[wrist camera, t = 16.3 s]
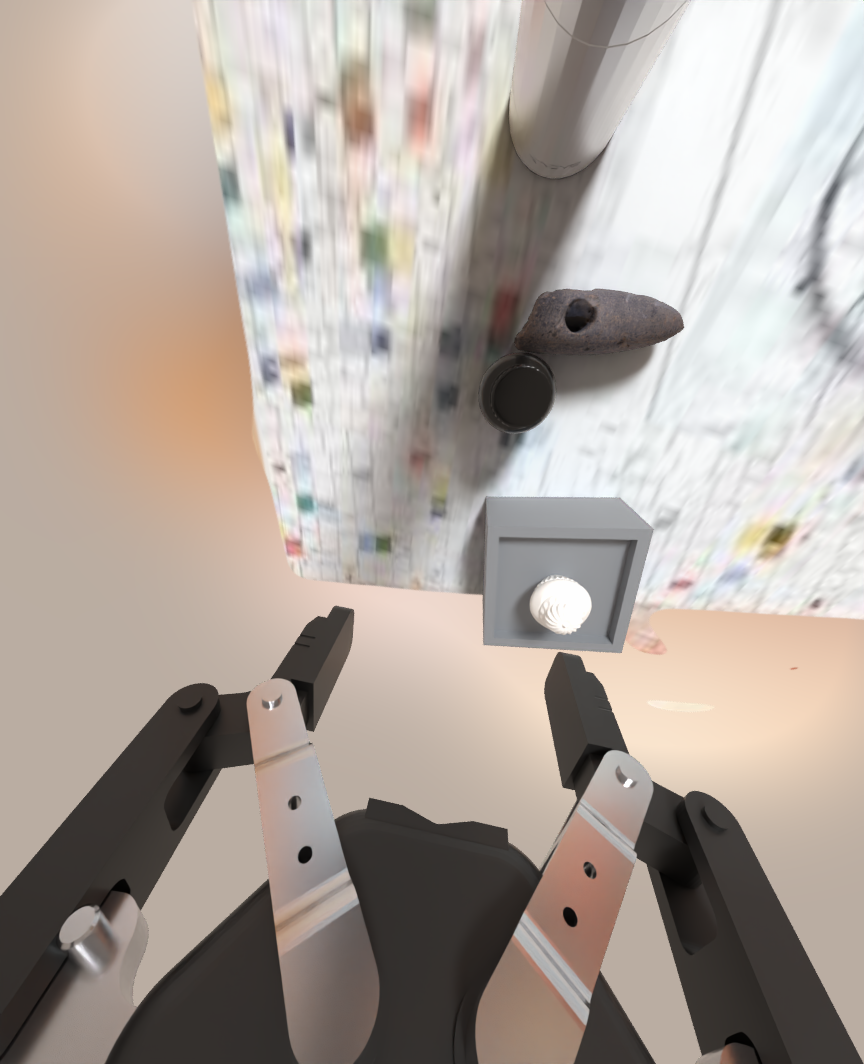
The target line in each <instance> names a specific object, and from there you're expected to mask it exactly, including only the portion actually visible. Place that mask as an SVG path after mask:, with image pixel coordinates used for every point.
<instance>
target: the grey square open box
mask: <svg viewBox="0 0 864 1064" xmlns="http://www.w3.org/2000/svg"><path fill="white" fill-rule="evenodd" d="M653 530H654V529H653V528H652V527H651V526H650V525H649V524H648V523H646V522H645V521H644V520H643V519H642V518H641V517H640V516H639V515H638V514H637V513H636V512H635V511H634V510H633V509H631V508H630V507H629V506H628V505H627V504H626V503H625V502H624V501H623V500H622V499H621V498H590V497H486V517H485V548H484V578H483V642H484V645H494V646H511V647H528V648H546V649H562V650H579V651H596V652H612V653H622V649H623V645H624V641H625V637H626V634H627V630H628V626H629V622H630V618H631V614H632V610H633V607H634V603H635V599H636V595H637V591H638V587H639V584H640V580H641V576H642V572H643V568H644V564H645V560H646V557H647V553H648V549H649V545H650V541H651V537H652V533H653ZM550 575H562V576H564V577H567V578H570V579H573V580H574V581H575V582H578V584H579V585H581V586H582V587H583V588H584V589H585V590H586V591H587V592H588V594H589V596H590V598H591V603H592V607H591V611H590V614H589V616H588V617H587V619H586V620H585V621H584V622H583V623H582V624H581V625H580V626H581V627H580V628H577V629H576V632H572V633H571V634H568V633H567V634H565V635H562V634H556V633H555V632H553V631H551V630H550V629H548V628H546V627H544V626H542V625H541V624H540V623H538V622H537V621H536V620H535V619H534V617H533V616H532V614H531V611H530V598H531V596H532V594H533V592H534V590H535V588H536V587H537V585H538V584H539V583H540V582H541V581H542V580H543V579H545V578H546V577H548V576H550Z"/></svg>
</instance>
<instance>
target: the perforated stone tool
mask: <svg viewBox="0 0 864 1064" xmlns="http://www.w3.org/2000/svg"><path fill="white" fill-rule="evenodd" d="M683 325H684V324H683V320H682V317H681V315H680V313H679V312H678V311H677V310H675V309H674V308H672V307H671V306H669V305H667V304H665V303H663V302H660V301H658V300H656V299H654V298H651V297H648V296H644V295H635V294H632V293H627V292H622V291H615V290H606V289H594V290H592V291H582V290H572V289H563V290H556V291H554V292H545V293H542V294H541V295H540V296H539V297H538V299H537V300H536V302H535V305H534V307H533V310H532V313H531V314H530V317H529V318H528V322H527V323H526V324H525V326H524V327H523V330H521V332H519V333H518V334H517V337H516V338H515V342H514V343H515V344H516V345H515V347H516V348H517V349H518V350H522V351H527V352H533V353H548V354H561V355H587V354H605V353H613V352H621V351H627V350H632V349H637V348H641V347H646V346H650V345H653V344H656V343H659V342H662V341H665V340H667V339H668V338H670V337H672V336H674V335H675V334H677V333H679V332H680V331H681V330H682V329H683V328H684V326H683Z"/></svg>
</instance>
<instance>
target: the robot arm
mask: <svg viewBox="0 0 864 1064" xmlns="http://www.w3.org/2000/svg"><path fill="white" fill-rule="evenodd" d="M690 1H691V0H522V3H521V12H520V20H519V29H518V37H517V45H516V54H515V62H514V69H513V77H512V86H511V94H510V103H509V125H510V133H511V138H512V141H513V144H514V148H515V150H516V152H517V154H518V155H519V157H520V159H521V161H522V162H523V163H524V164H525V165H526V166H527V167H528V168H529V169H530V170H531V171H533V172H534V173H536V174H537V175H540V176H543V177H546V178H564V177H568V176H571V175H573V174H575V173H577V172H579V171H581V170H583V169H584V168H585V167H587V166H588V165H589V164H590V163H592V162H593V161H594V160H595V159H596V158H597V157H598V155H599V154H600V153H601V152H602V151H603V150H604V148H605V147H606V145H607V143H608V142H609V140H610V139H611V137H612V135H613V134H614V132H615V130H616V128H617V127H618V125H619V123H620V122H621V120H622V118H623V116H624V115H625V113H626V112H627V110H628V108H629V106H630V105H631V103H632V101H633V100H634V98H635V96H636V94H637V93H638V91H639V89H640V88H641V86H642V84H643V82H644V81H645V79H646V77H647V75H648V74H649V72H650V70H651V69H652V67H653V65H654V63H655V62H656V60H657V58H658V56H659V55H660V53H661V51H662V50H663V48H664V46H665V44H666V43H667V41H668V39H669V37H670V36H671V34H672V32H673V31H674V29H675V27H676V25H677V24H678V22H679V20H680V18H681V17H682V15H683V13H684V12H685V10H686V8H687V6H688V5H689V3H690ZM353 624H354V610H353V609H349V608H344V607H339V606H334V607H333V609H332V610H331V612H330V614H329V616H328V617H327V618H325V617H320V616H318V617H316V618H315V619H314V620H312V621H311V622H309V623H308V624H307V625H306V627H305V628H304V630H303V631H302V633H301V634H300V636H299V637H298V639H297V640H296V642H295V644H294V645H293V646H292V648H291V649H290V651H289V652H288V654H287V655H286V657H285V658H284V660H283V661H282V663H281V665H280V666H279V667H278V669H277V671H276V672H275V674H274V675H273V676H272V678H271V679H270V680H267V681H264V682H262V683H260V684H259V685H257V686H256V687H255V688H254V689H253V690H252V691H249V692H246V693H236V694H225V695H218V691H217V689H216V688H215V687H214V686H212V685H210V684H205V683H200V684H199V683H198V684H193V685H189V686H187V687H184V688H182V689H180V690H178V691H177V692H175V693H174V694H173V695H171V697H169V698H168V699H167V701H166V702H165V703H164V704H163V705H162V707H161V708H160V709H159V710H158V711H157V712H156V714H155V715H154V716H153V717H152V718H151V719H150V721H149V722H148V723H147V724H146V725H145V727H144V728H143V729H142V730H141V731H140V733H139V734H138V735H137V736H136V737H135V738H134V740H133V741H132V742H131V743H130V744H129V745H128V747H127V748H126V749H125V750H124V751H123V752H122V754H121V755H120V756H119V757H118V758H117V760H116V761H115V762H114V763H113V764H112V766H111V767H110V768H109V769H108V770H107V771H106V772H105V774H104V775H103V776H102V777H101V778H100V780H99V781H98V782H97V783H96V784H95V785H94V787H93V788H92V789H91V790H90V791H89V793H88V794H87V795H86V796H85V797H84V798H83V800H82V801H81V802H80V803H79V804H78V806H77V807H76V808H75V809H74V810H73V811H72V813H71V814H70V815H69V816H68V817H67V818H66V820H65V821H64V822H63V823H62V824H61V826H60V827H59V828H58V829H57V830H56V831H55V833H54V834H53V835H52V836H51V837H50V838H49V840H48V841H47V842H46V843H45V844H44V846H43V847H42V848H41V849H40V850H39V852H38V853H37V854H36V855H35V856H34V857H33V859H32V860H31V861H30V862H29V863H28V864H27V866H26V867H25V868H24V869H23V870H22V872H21V873H20V874H19V875H18V876H17V878H16V879H15V880H14V881H13V882H12V883H11V885H10V886H9V887H8V888H7V889H6V890H5V892H4V893H3V894H2V895H1V896H0V1064H656V1063H655V1062H654V1060H653V1058H652V1057H651V1055H650V1053H649V1052H648V1050H647V1048H646V1047H645V1045H644V1044H643V1042H642V1040H641V1038H640V1037H639V1035H638V1033H637V1032H636V1030H635V1028H634V1026H633V1025H632V1023H631V1022H630V1020H629V1018H628V1017H627V1015H626V1013H625V1011H624V1010H623V1008H622V1006H621V1005H620V1003H619V1002H618V1000H617V998H616V997H615V995H614V994H613V992H612V990H611V988H610V986H609V985H608V983H607V981H606V980H605V978H604V976H603V975H602V973H601V971H600V968H601V965H602V962H603V959H604V956H605V953H606V950H607V947H608V944H609V941H610V938H611V935H612V932H613V929H614V926H615V923H616V919H617V916H618V913H619V910H620V907H621V904H622V901H623V898H624V895H625V892H626V889H627V886H628V883H629V880H630V877H631V874H632V871H633V868H634V864H635V861H636V858H638V859H639V860H641V861H643V862H645V863H646V864H647V867H648V871H649V874H650V878H651V881H652V884H653V888H654V891H655V895H656V898H657V902H658V905H659V908H660V912H661V915H662V919H663V922H664V925H665V929H666V932H667V936H668V940H669V943H670V947H671V950H672V953H673V957H674V960H675V964H676V967H677V971H678V974H679V978H680V981H681V985H682V988H683V991H684V995H685V998H686V1002H687V1005H688V1009H689V1012H690V1015H691V1019H692V1022H693V1026H694V1029H695V1033H696V1036H697V1039H698V1043H699V1046H700V1050H701V1053H702V1056H701V1057H700V1058H699V1059H698V1060H697V1061H696V1064H863V1062H862V1060H861V1058H860V1056H859V1054H858V1052H857V1050H856V1048H855V1046H854V1044H853V1042H852V1041H851V1039H850V1037H849V1035H848V1033H847V1031H846V1029H845V1027H844V1025H843V1023H842V1021H841V1019H840V1017H839V1015H838V1014H837V1012H836V1010H835V1008H834V1006H833V1004H832V1002H831V1000H830V998H829V996H828V994H827V992H826V990H825V988H824V987H823V985H822V983H821V981H820V979H819V977H818V975H817V973H816V971H815V969H814V967H813V965H812V963H811V962H810V960H809V958H808V956H807V954H806V952H805V950H804V948H803V946H802V944H801V942H800V940H799V938H798V936H797V934H796V933H795V931H794V929H793V927H792V925H791V923H790V921H789V919H788V917H787V915H786V913H785V912H784V909H783V907H782V906H781V904H780V902H779V900H778V898H777V896H776V894H775V892H774V890H773V888H772V886H771V884H770V882H769V881H768V879H767V877H766V875H765V873H764V871H763V869H762V867H761V866H760V863H759V861H758V859H757V857H756V856H755V853H754V852H753V850H752V848H751V846H750V844H749V842H748V840H747V838H746V836H745V834H744V832H743V831H742V829H741V827H740V825H739V823H738V821H737V820H736V819H735V817H734V816H733V815H732V814H731V812H730V811H729V810H728V809H727V808H726V807H725V806H724V805H722V804H721V803H720V802H719V801H718V800H716V799H715V798H713V797H712V796H710V795H707V794H705V793H702V792H699V791H692V792H689V793H688V794H687V795H686V796H685V797H684V798H683V797H682V796H679V795H678V794H676V793H674V792H672V791H670V790H668V789H666V788H664V787H662V786H660V785H658V784H657V783H655V782H653V781H652V780H651V778H650V776H649V774H648V773H647V771H646V769H645V768H644V767H643V766H642V765H641V764H640V763H639V762H638V761H637V760H636V759H635V758H633V757H632V756H630V755H629V752H628V750H627V747H626V745H625V742H624V739H623V737H622V734H621V732H620V729H619V726H618V724H617V721H616V719H615V716H614V713H613V712H612V708H611V706H610V703H609V701H608V698H607V695H606V693H605V690H604V687H603V685H602V684H601V683H600V681H599V680H598V679H597V678H596V676H595V675H594V674H593V673H590V672H586V670H585V667H584V665H583V661H582V660H581V657H580V656H577V655H572V654H567V653H562V652H558V654H557V655H556V657H555V659H554V662H553V664H552V667H551V669H550V671H549V674H548V676H547V678H546V682H545V688H544V690H545V691H544V694H545V700H546V705H547V710H548V715H549V720H550V725H551V730H552V736H553V741H554V746H555V751H556V756H557V761H558V766H559V771H560V776H561V781H562V786H563V788H567V789H572V790H575V792H576V797H577V801H576V802H575V804H574V805H573V807H572V809H571V811H570V813H569V815H568V817H567V819H566V821H565V822H564V824H563V826H562V828H561V830H560V832H559V833H558V835H557V837H556V839H555V841H554V843H553V845H552V847H551V848H550V850H549V852H548V854H547V856H546V857H545V859H544V861H543V863H542V864H541V866H540V868H539V869H538V868H537V867H536V866H535V865H534V864H533V862H532V861H531V860H530V859H529V858H528V857H527V856H526V855H525V854H524V853H522V852H521V851H520V850H519V849H518V848H516V847H515V846H514V845H512V844H510V843H509V842H508V832H507V829H504V828H501V827H496V826H492V825H487V824H483V823H479V822H474V821H471V822H459V823H449V824H435V823H433V822H431V821H430V820H428V819H426V818H424V817H422V816H421V815H419V814H417V813H415V812H414V811H412V810H410V809H408V808H406V807H405V806H403V805H399V804H394V803H390V802H386V801H381V800H377V799H372V798H369V801H368V806H367V809H363V810H357V811H353V812H349V813H347V814H344V815H342V816H340V817H338V818H337V819H335V820H334V818H333V814H332V811H331V807H330V803H329V799H328V796H327V792H326V788H325V785H324V781H323V777H322V774H321V770H320V767H319V763H318V759H317V756H316V752H315V749H314V746H313V744H312V743H310V741H309V739H308V735H307V731H306V730H309V731H313V732H314V730H315V728H316V725H317V723H318V721H319V719H320V717H321V714H322V712H323V710H324V707H325V705H326V703H327V701H328V699H329V696H330V694H331V692H332V690H333V688H334V685H335V683H336V681H337V679H338V676H339V674H340V672H341V670H342V668H343V665H344V663H345V661H346V659H347V656H348V654H349V651H350V648H351V644H352V638H353ZM249 764H254V766H255V773H256V782H257V790H258V798H259V806H260V813H261V821H262V829H263V837H264V845H265V852H266V860H267V868H268V875H269V879H268V880H267V881H266V882H264V883H263V884H262V885H261V886H260V887H259V888H258V889H257V890H256V891H255V892H254V893H253V894H252V895H251V896H249V897H248V899H246V900H245V901H244V902H243V903H242V904H241V905H240V906H239V907H238V908H237V909H236V910H234V911H233V912H232V913H231V914H230V915H229V916H228V917H227V918H226V919H225V920H224V921H223V922H222V923H221V924H219V925H218V926H217V927H216V928H215V929H214V930H213V931H212V932H211V933H210V934H209V935H208V936H207V937H205V938H204V939H203V940H202V941H201V942H200V943H199V944H198V945H197V946H196V947H195V948H194V949H193V950H192V951H190V952H189V953H188V954H187V955H186V956H185V957H184V958H183V959H182V960H181V961H180V962H179V963H178V964H176V965H175V966H174V968H172V969H171V970H170V971H169V972H168V973H167V974H166V975H165V976H164V977H163V978H162V979H161V980H160V981H159V982H158V983H157V984H156V985H155V986H154V988H153V989H152V990H151V991H150V992H149V993H148V994H147V996H146V997H145V998H144V1000H143V1001H142V1002H141V1003H140V1005H139V1006H138V1007H136V1006H134V1005H133V997H132V996H133V985H134V979H135V976H136V973H137V969H138V967H139V965H140V963H141V960H142V957H143V955H144V953H145V950H146V946H147V942H148V931H149V930H148V925H147V922H146V920H145V918H144V916H143V914H142V913H141V909H142V907H143V905H144V904H145V902H146V900H147V899H148V897H149V895H150V893H151V891H152V890H153V888H154V886H155V884H156V883H157V881H158V879H159V878H160V876H161V874H162V872H163V871H164V869H165V867H166V865H167V864H168V862H169V860H170V858H171V857H172V855H173V853H174V851H175V849H176V848H177V846H178V844H179V843H180V841H181V839H182V837H183V836H184V834H185V832H186V830H187V828H188V827H189V825H190V823H191V822H192V820H193V818H194V816H195V814H196V813H197V811H198V809H199V808H200V806H201V804H202V802H203V801H204V799H205V797H206V795H207V794H208V792H209V790H210V788H211V787H212V785H213V783H214V781H215V780H216V778H217V776H218V774H219V773H220V771H221V769H222V768H228V767H235V766H242V765H249Z"/></svg>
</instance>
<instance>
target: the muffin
mask: <svg viewBox="0 0 864 1064" xmlns="http://www.w3.org/2000/svg"><path fill="white" fill-rule="evenodd" d="M591 607H592V603H591V598H590V596H589V594H588V592H587V591H586V590H585V589H584V588H583V587H582V586H581V585H579V584H578V582H575V581H574V580H573V579H570V578H567V577H564V576H562V575H550V576H548V577H546V578H545V579H543V580H542V581H541V582H540V583H539V584H538V585H537V587H536V588H535V590H534V592H533V594H532V596H531V598H530V611H531V614H532V616H533V617H534V619H535V620H536V621H537V622H538V623H540V624H541V625H542V626H544V627H546V628H548V629H550V630H551V631H553V632H555V633H556V634H562V635H565V634H567V633H568V634H571V633H572V632H576V629H577V628H580V627H581V626H580V625H581V624H582V623H583V622H584V621H585V620H586V619H587V617H588V616H589V614H590V611H591Z"/></svg>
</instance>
